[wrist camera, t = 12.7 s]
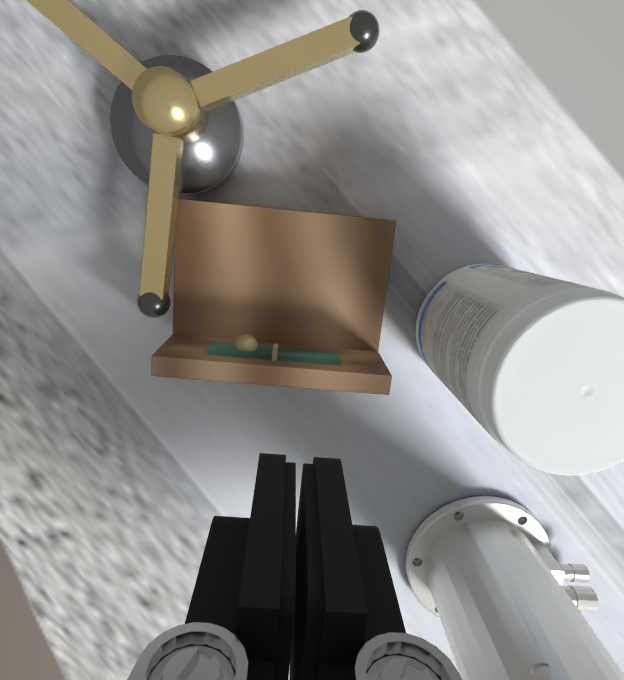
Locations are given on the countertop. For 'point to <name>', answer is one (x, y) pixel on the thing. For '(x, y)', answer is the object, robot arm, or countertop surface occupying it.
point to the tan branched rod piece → (191, 118)
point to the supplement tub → (531, 363)
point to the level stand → (278, 298)
